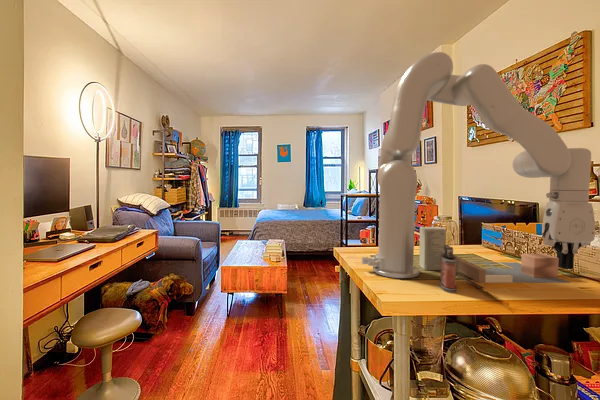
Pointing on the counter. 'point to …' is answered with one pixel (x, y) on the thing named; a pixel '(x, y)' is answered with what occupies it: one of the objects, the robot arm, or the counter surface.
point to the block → (539, 265)
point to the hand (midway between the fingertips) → (564, 267)
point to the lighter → (448, 270)
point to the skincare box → (431, 247)
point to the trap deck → (498, 274)
